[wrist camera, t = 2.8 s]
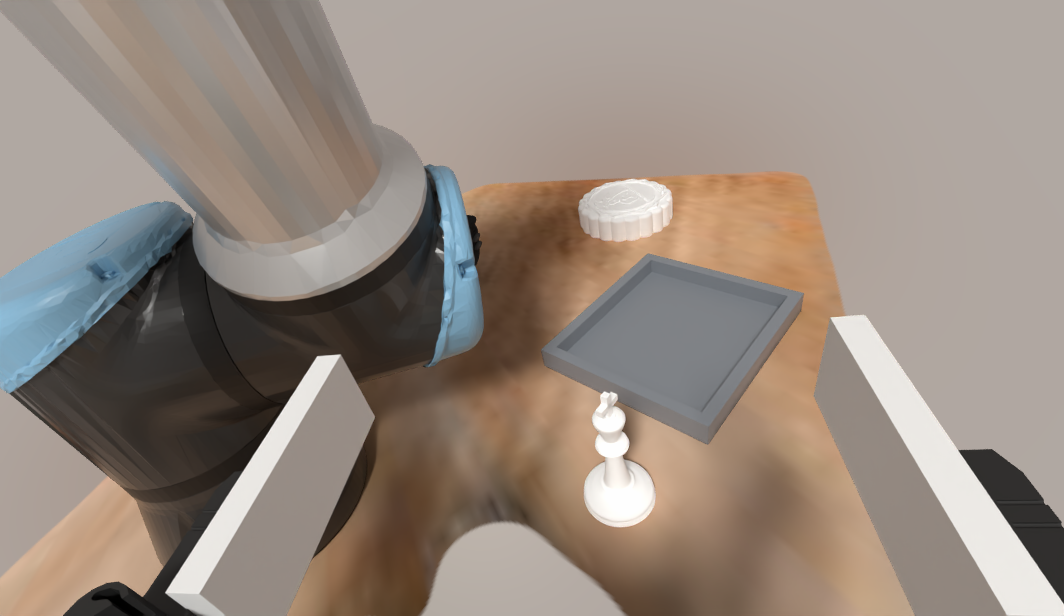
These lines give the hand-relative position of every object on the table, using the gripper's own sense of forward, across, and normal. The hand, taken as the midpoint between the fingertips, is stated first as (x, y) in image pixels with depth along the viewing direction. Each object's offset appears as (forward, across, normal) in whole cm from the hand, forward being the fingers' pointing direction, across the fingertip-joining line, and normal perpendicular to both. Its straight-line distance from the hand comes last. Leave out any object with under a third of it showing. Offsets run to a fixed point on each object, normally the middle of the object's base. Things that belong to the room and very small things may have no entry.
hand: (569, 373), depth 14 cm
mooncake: (+51, +2, -22) cm, 55 cm away
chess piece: (+10, 0, -22) cm, 24 cm away
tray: (+26, +5, -22) cm, 34 cm away
